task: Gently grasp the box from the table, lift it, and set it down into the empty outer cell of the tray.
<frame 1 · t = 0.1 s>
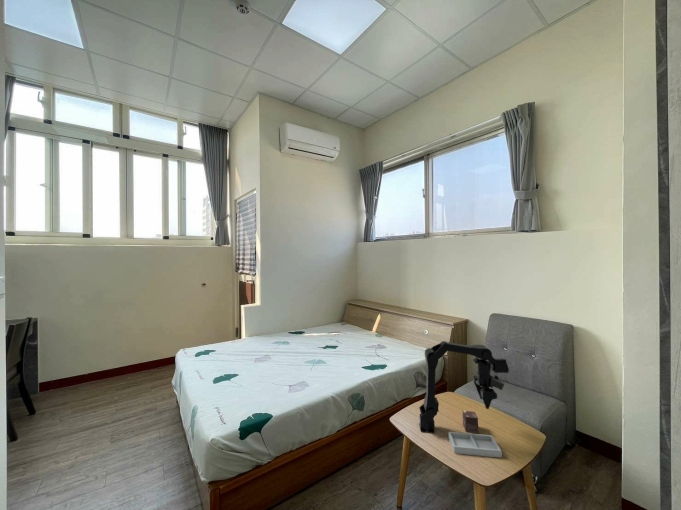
hand: (484, 403, 133), 14 cm above the table, fingers open, 9 cm apart
tray: (473, 447, 123), on the table
box: (470, 429, 137), on the table
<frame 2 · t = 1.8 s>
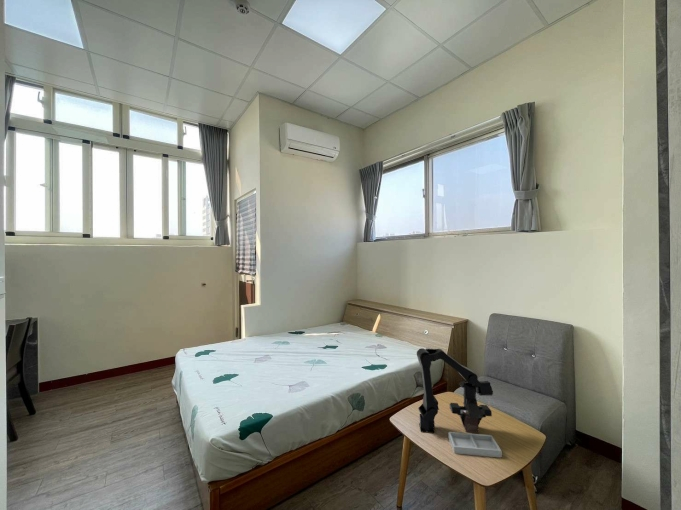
hand: (470, 426, 137), 1 cm above the table, fingers closed on box, 6 cm apart
box: (470, 429, 137), on the table, touching gripper
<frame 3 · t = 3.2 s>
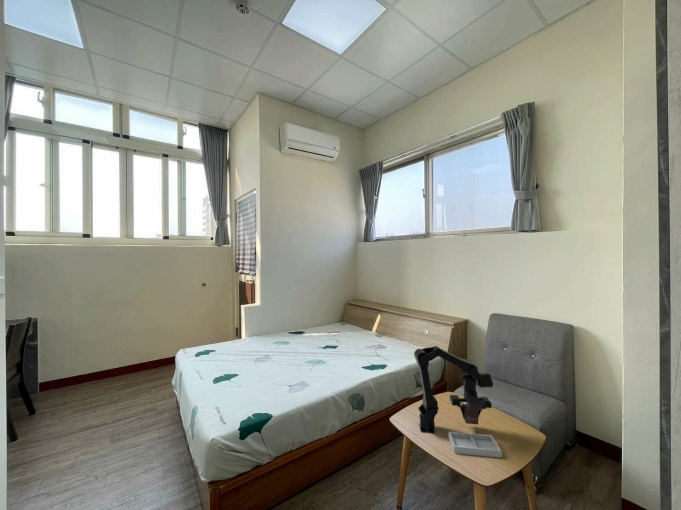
hand: (470, 418, 137), 5 cm above the table, fingers closed on box, 6 cm apart
box: (470, 421, 137), point 4 cm above the table, touching gripper
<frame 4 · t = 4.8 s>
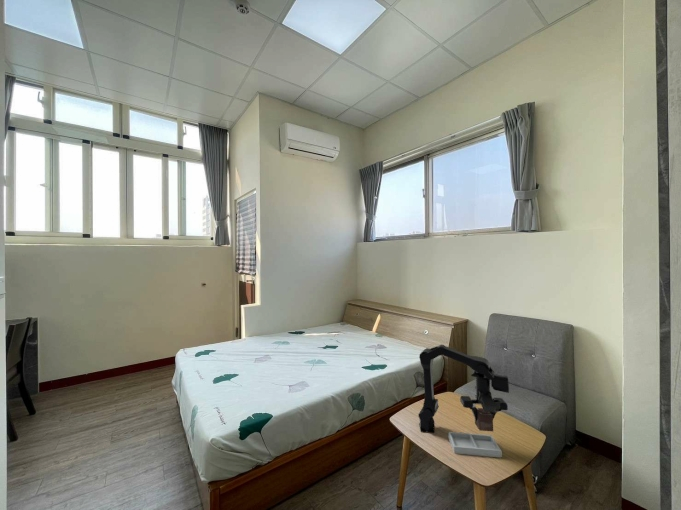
hand: (483, 421, 123), 12 cm above the table, fingers closed on box, 6 cm apart
box: (483, 428, 123), point 9 cm above the table, touching gripper
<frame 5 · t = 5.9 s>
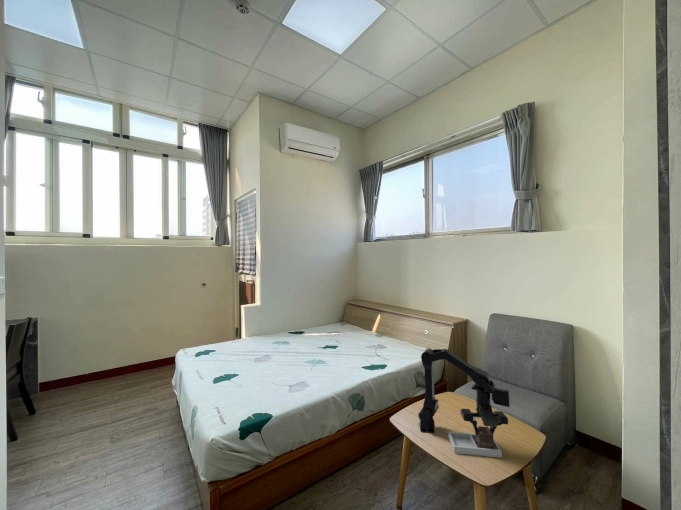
hand: (483, 435, 123), 6 cm above the table, fingers closed on box, 6 cm apart
box: (484, 447, 122), point 1 cm above the table, touching tray, gripper
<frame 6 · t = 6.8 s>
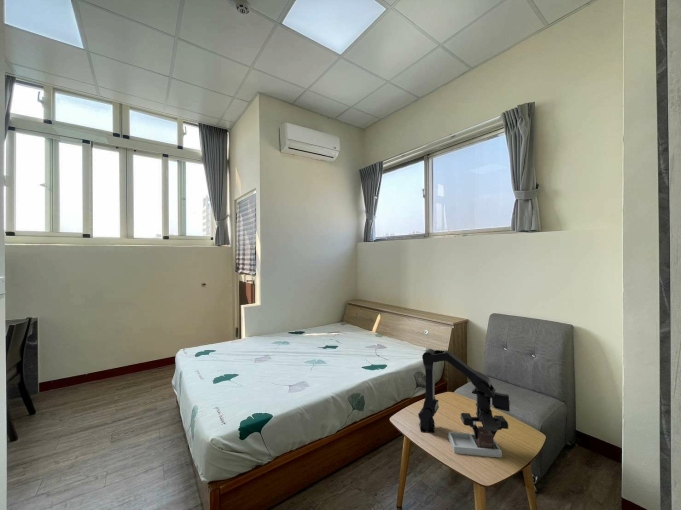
hand: (484, 439, 123), 4 cm above the table, fingers closed on box, 6 cm apart
box: (484, 447, 122), point 1 cm above the table, touching tray, gripper
when the fingers open (4 cm above the table, at t = 6.8 s): box stays where it is, resting on tray.
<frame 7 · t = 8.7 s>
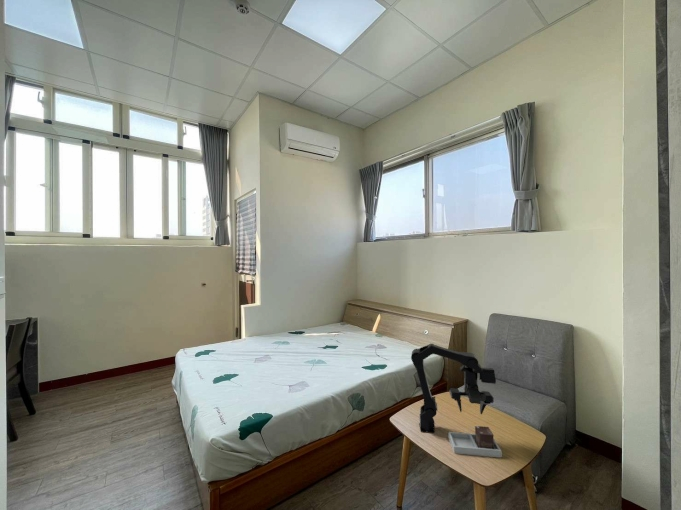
hand: (470, 412, 131), 11 cm above the table, fingers open, 9 cm apart
box: (484, 447, 122), point 1 cm above the table, touching tray
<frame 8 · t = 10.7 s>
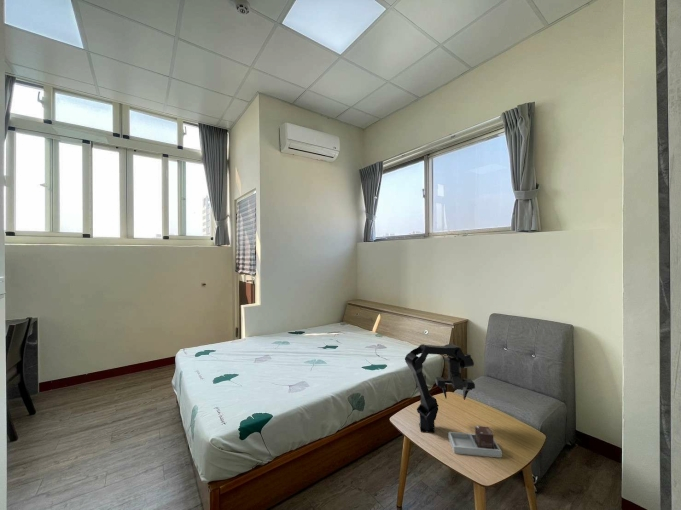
hand: (454, 398, 143), 12 cm above the table, fingers open, 9 cm apart
nothing on the table moved.
at the end: box 0.3 cm from the target spot on the tray, point 0.6 cm above the tray's base; box tilted 0°; the gripper is holding nothing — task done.
